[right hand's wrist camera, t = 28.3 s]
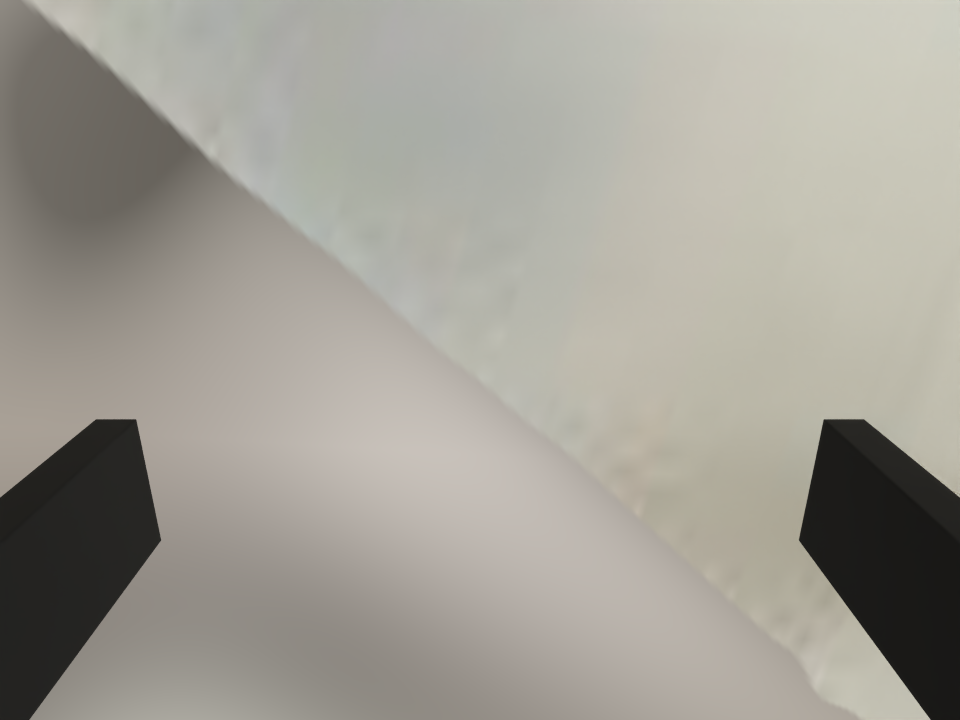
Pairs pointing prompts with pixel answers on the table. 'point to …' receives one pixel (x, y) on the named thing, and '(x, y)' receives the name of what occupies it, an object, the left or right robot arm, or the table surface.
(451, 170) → the table surface
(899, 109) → the table surface
